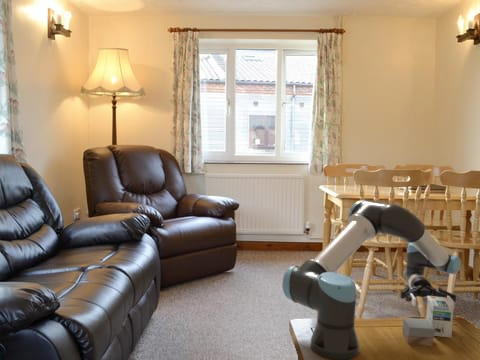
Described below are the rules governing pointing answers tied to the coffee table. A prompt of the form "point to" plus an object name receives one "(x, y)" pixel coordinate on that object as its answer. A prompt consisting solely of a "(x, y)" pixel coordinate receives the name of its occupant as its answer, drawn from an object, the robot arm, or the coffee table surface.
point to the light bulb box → (440, 315)
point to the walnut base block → (417, 339)
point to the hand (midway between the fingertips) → (433, 304)
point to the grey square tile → (418, 327)
